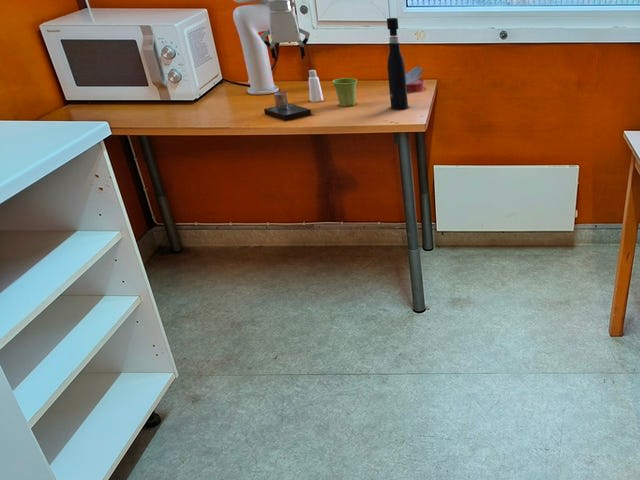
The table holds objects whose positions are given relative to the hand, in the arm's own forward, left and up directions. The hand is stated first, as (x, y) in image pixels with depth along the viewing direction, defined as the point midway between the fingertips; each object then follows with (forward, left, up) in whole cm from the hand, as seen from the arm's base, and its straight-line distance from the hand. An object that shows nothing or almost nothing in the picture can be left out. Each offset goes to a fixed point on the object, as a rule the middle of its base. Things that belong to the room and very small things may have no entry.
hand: (289, 59), depth 233 cm
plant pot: (+11, +15, -17) cm, 26 cm away
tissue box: (+11, +48, -17) cm, 53 cm away
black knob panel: (+6, -8, -17) cm, 20 cm away
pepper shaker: (-4, +11, -17) cm, 21 cm away
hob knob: (+3, -8, -15) cm, 17 cm away
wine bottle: (+30, +25, -17) cm, 43 cm away
